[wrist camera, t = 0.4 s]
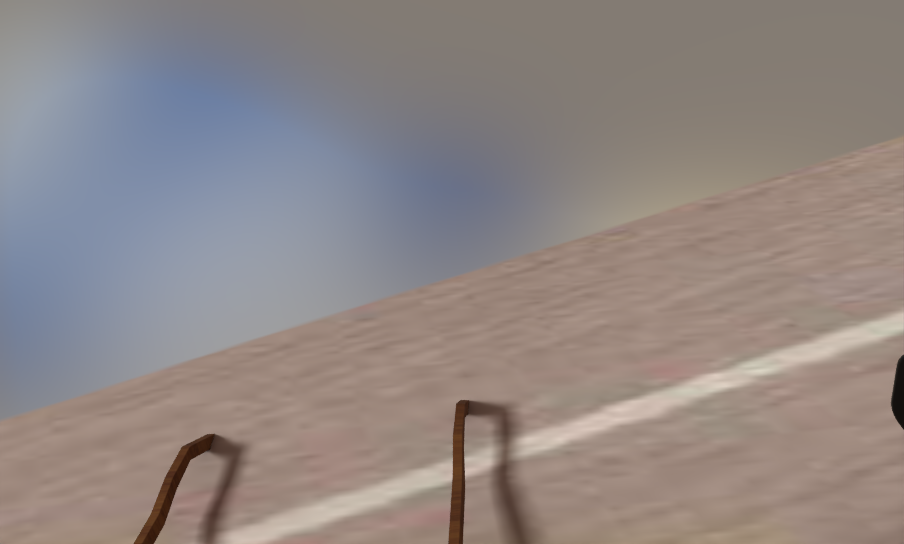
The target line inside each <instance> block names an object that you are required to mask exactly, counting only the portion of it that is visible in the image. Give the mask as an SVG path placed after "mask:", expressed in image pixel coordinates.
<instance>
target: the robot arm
mask: <svg viewBox="0 0 904 544" xmlns="http://www.w3.org/2000/svg"><path fill="white" fill-rule="evenodd" d="M891 406H892V411H893V414H894V416H895V418H896V420H897V421H898V423H899V424H900V425H901V427H902V428H903V429H904V355H903V356H901V358H900V359H899V360H898V363H897V368H896V374H895V380H894V386H893V392H892V398H891Z"/></svg>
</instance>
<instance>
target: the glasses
mask: <svg viewBox="0 0 904 544" xmlns="http://www.w3.org/2000/svg"><path fill="white" fill-rule="evenodd" d="M468 404H469V400H460V401H459V402H458V403H456V412H455V422H454V431H453V481H452V497H451V513H450V528H449V544H463V525H464V501H465V467H464V425H465V417H466V416H467V415H468ZM213 437H214V434H207V435H205V436H203V437H201V438H199V439H197V440H195V441H193V442H191V443H189V444H187V445H185V446H183V447H182V448H181V450H180V451H179V453H178V455H177V457H176V459H175V460H174V462H173V464H172V466H171V468H170V470H169V471H168V473H167V475H166V477H165V479H164V482H163V484H162V487H161V490H160V492H159V495H158V497H157V500H156V502H155V505H154V508H153V510H152V513H151V515H150V517H149V518H148V520H147V522H146V524H145V525H144V527H143V529H142V530H141V532H140V534H139V536H138V537H137V539H136V541H135V542H134V544H154V542H155V541H156V539H157V537H158V535H159V533H160V531H161V530H162V528H163V526H164V524H165V521H166V518H167V515H168V512H169V510H170V507H171V504H172V501H173V498H174V495H175V492H176V490H177V487H178V485H179V483H180V481H181V479H182V477H183V475H184V472H185V470H186V468H187V466H188V464H189V462H190V460H191V459H193V458H195V457H196V456H198V455H200V454H202V453H204V452H206V451H207V450H209V449H210V446H211V443H212V440H213Z"/></svg>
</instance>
